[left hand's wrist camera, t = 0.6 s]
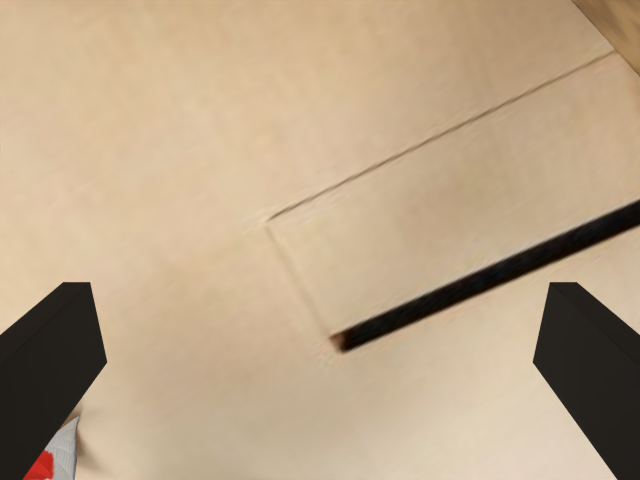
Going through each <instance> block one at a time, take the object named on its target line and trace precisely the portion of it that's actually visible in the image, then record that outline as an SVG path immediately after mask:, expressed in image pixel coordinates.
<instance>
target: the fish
mask: <svg viewBox="0 0 640 480" xmlns="http://www.w3.org/2000/svg"><path fill="white" fill-rule="evenodd" d="M78 420H79V416H77V417H76V418H74V419H73V420H71V421H70V422H69V423H68V424H66V425H65V426H64V427H62V428H61V429H60V430H59V431H57V433H56V434H55V435H54V437H53V438H52V440H51V441H50V442H49V444H48V445H47V447H46V448H45V449H44V451H43V452H42V453H41V455H40V456H39V458H38V459H37V460H36V462H35V463H34V465H33V466H32V467H31V469H30V470H29V471H28V473H27V474H26V476H25V477H24V478H23V480H74V479H75V470H76V461H77V451H76V427H77V424H78Z"/></svg>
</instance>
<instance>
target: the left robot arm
mask: <svg viewBox="0 0 640 480" xmlns="http://www.w3.org/2000/svg"><path fill="white" fill-rule="evenodd" d="M106 363H107V359H106V354H105V350H104V345H103V340H102V336H101V331H100V326H99V322H98V317H97V312H96V308H95V303H94V298H93V294H92V289H91V284H90V282H63V283H62V284H61V285H59V286H58V287H57V288H56V289H55V290H53V291H52V292H51V293H50V294H49V295H47V296H46V297H45V298H44V299H43V300H41V301H40V302H39V303H38V304H37V305H36V306H34V307H33V308H32V309H31V310H30V311H28V312H27V313H26V314H25V315H24V316H22V317H21V318H20V319H19V320H18V321H16V322H15V323H14V324H13V325H12V326H10V327H9V328H8V329H7V330H6V331H4V332H3V333H2V334H1V335H0V480H23V478H24V477H25V476H26V474H27V473H28V471H29V470H30V469H31V467H32V466H33V465H34V463H35V462H36V460H37V459H38V458H39V456H40V455H41V453H42V452H43V451H44V449H45V448H46V447H47V445H48V444H49V442H50V441H51V440H52V438H53V437H54V435H55V434H56V433H57V431H58V430H59V428H60V427H61V426H62V424H63V423H64V422H65V420H66V419H67V417H68V416H69V415H70V413H71V412H72V410H73V409H74V408H75V406H76V405H77V404H78V402H79V401H80V399H81V398H82V397H83V395H84V394H85V392H86V391H87V390H88V388H89V387H90V386H91V384H92V383H93V381H94V380H95V379H96V377H97V376H98V374H99V373H100V372H101V370H102V369H103V367H104V366H105V365H106ZM533 363H534V365H535V366H536V367H537V369H538V370H539V372H540V373H541V374H542V376H543V377H544V379H545V380H546V381H547V383H548V384H549V386H550V387H551V388H552V390H553V391H554V392H555V394H556V395H557V397H558V398H559V399H560V401H561V402H562V404H563V405H564V406H565V408H566V409H567V410H568V412H569V413H570V415H571V416H572V417H573V419H574V420H575V422H576V423H577V424H578V426H579V427H580V428H581V430H582V431H583V433H584V434H585V435H586V437H587V438H588V440H589V441H590V442H591V444H592V445H593V447H594V448H595V449H596V451H597V452H598V453H599V455H600V456H601V458H602V459H603V460H604V462H605V463H606V465H607V466H608V467H609V469H610V470H611V471H612V473H613V474H614V476H615V477H616V478H617V480H640V335H639V334H638V333H637V332H636V331H634V330H633V329H632V328H631V327H630V326H628V325H627V324H626V323H625V322H624V321H622V320H621V319H620V318H619V317H618V316H616V315H615V314H614V313H613V312H612V311H610V310H609V309H608V308H607V307H606V306H604V305H603V304H602V303H601V302H600V301H599V300H597V299H596V298H595V297H594V296H593V295H591V294H590V293H589V292H588V291H587V290H585V289H584V288H583V287H582V286H581V285H579V284H578V283H577V282H550V284H549V289H548V294H547V298H546V303H545V308H544V312H543V317H542V322H541V326H540V331H539V336H538V340H537V345H536V350H535V354H534V359H533Z"/></svg>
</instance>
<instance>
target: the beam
mask: <svg viewBox="0 0 640 480" xmlns="http://www.w3.org/2000/svg"><path fill="white" fill-rule="evenodd" d="M572 1H573V2H574V3H575V4H576V6H577V7H578V8H579V9H580V10H581V11H582V12H583V13H584V14H585V16H586V17H587V18H588V19H589V20H590V21H591V22H592V23H593V24H594V26H595V27H596V28H597V29H598V30H599V31H600V32H601V33H602V35H603V36H604V37H605V38H606V39H607V40H608V41H609V42H610V43H611V45H612V46H613V47H614V48H615V49H616V50H617V51H618V52H619V54H620V55H621V56H622V57H623V58H624V59H625V60H626V61H627V62H628V64H629V65H630V66H631V67H632V68H633V69H634V70H635V71H636V73H637V74H638V75H639V76H640V0H572Z"/></svg>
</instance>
